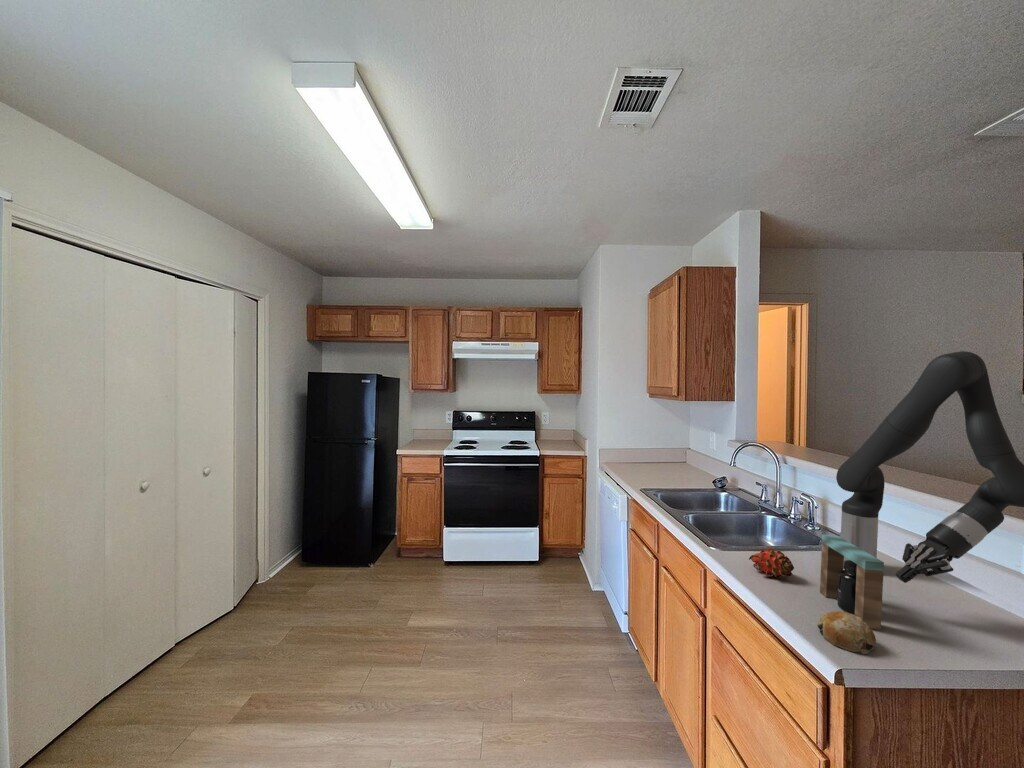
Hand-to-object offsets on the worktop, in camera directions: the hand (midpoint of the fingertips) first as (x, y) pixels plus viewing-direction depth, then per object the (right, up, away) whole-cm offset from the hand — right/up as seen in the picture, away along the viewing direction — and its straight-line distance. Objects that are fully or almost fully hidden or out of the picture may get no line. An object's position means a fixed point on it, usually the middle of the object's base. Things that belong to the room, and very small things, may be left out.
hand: (900, 579), depth 113 cm
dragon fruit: (-21, -8, +21) cm, 30 cm away
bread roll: (-23, -9, -12) cm, 28 cm away
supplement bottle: (-11, -9, +1) cm, 14 cm away
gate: (-12, -8, +2) cm, 15 cm away
